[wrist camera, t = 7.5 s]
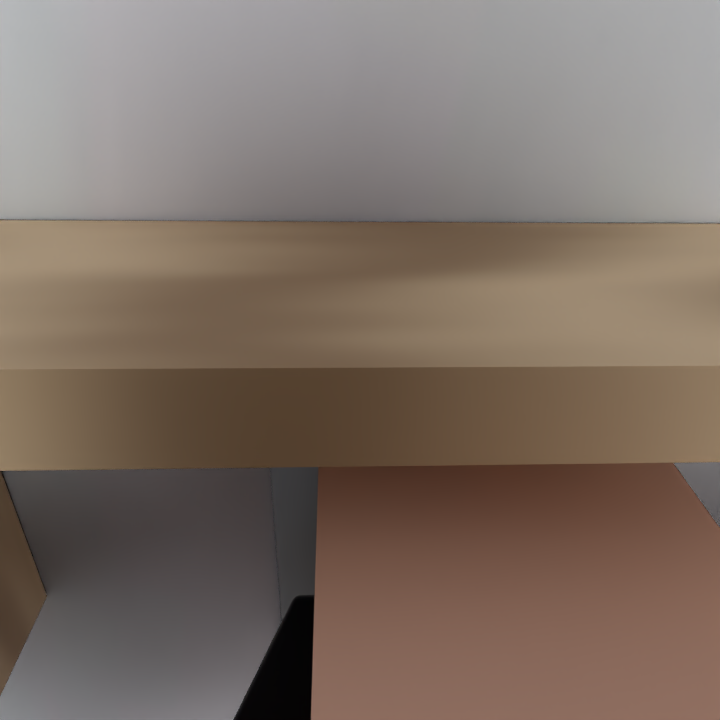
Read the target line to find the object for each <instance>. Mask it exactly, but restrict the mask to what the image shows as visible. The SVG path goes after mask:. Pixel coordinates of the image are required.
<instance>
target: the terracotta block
mask: <svg viewBox="0 0 720 720" xmlns="http://www.w3.org/2000/svg"><path fill="white" fill-rule="evenodd" d="M311 720H720V528H719V526H718V525H717V524H716V522H715V521H714V519H713V518H712V517H711V515H710V514H709V512H708V511H707V510H706V508H705V507H704V505H703V504H702V503H701V501H700V500H699V498H698V497H697V496H696V494H695V493H694V491H693V490H692V489H691V487H690V486H689V484H688V483H687V482H686V480H685V479H684V477H683V476H682V475H681V473H680V472H679V470H678V469H677V468H676V466H675V465H674V464H673V463H609V464H525V465H442V466H359V467H318V499H317V532H316V566H315V599H314V633H313V666H312V700H311Z"/></svg>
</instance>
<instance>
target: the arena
mask: <svg viewBox="0 0 720 720" xmlns="http://www.w3.org/2000/svg"><path fill="white" fill-rule="evenodd" d="M691 462H720V224H682V223H486V222H291V221H95V220H0V695H1V693H2V691H3V689H4V687H5V685H6V683H7V681H8V678H9V676H10V674H11V672H12V670H13V668H14V666H15V663H16V661H17V659H18V657H19V655H20V653H21V651H22V649H23V646H24V644H25V642H26V640H27V638H28V636H29V634H30V631H31V629H32V627H33V625H34V623H35V621H36V619H37V617H38V614H39V612H40V610H41V608H42V606H43V604H44V602H45V599H46V597H47V595H46V592H45V590H44V587H43V584H42V581H41V579H40V576H39V573H38V571H37V568H36V565H35V562H34V560H33V557H32V554H31V552H30V549H29V546H28V544H27V541H26V538H25V535H24V533H23V530H22V527H21V525H20V522H19V519H18V516H17V514H16V511H15V508H14V506H13V503H12V500H11V497H10V495H9V492H8V489H7V487H6V484H5V481H4V479H3V476H2V473H1V471H28V470H110V469H193V468H270V472H271V486H272V499H273V513H274V526H275V540H276V553H277V567H278V580H279V594H280V607H281V621H282V620H283V618H284V616H285V614H286V612H287V610H288V607H289V605H290V603H291V602H292V600H293V599H294V598H295V597H296V596H298V595H315V566H316V532H317V499H318V467H359V466H442V465H525V464H609V463H691Z"/></svg>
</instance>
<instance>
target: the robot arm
mask: <svg viewBox="0 0 720 720" xmlns="http://www.w3.org/2000/svg"><path fill="white" fill-rule="evenodd" d="M314 599H315V595H298V596H296V597H295V598H294V599H293V600H292V602H291V603H290V605H289V607H288V610H287V612H286V614H285V616H284V618H283V620H282V622H281V624H280V626H279V628H278V630H277V632H276V634H275V636H274V638H273V640H272V642H271V644H270V646H269V648H268V650H267V652H266V654H265V656H264V658H263V660H262V662H261V664H260V666H259V669H258V671H257V673H256V675H255V677H254V679H253V681H252V683H251V685H250V687H249V689H248V691H247V693H246V695H245V697H244V699H243V701H242V703H241V705H240V707H239V709H238V711H237V713H236V715H235V717H234V719H233V720H311V700H312V666H313V633H314Z"/></svg>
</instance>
